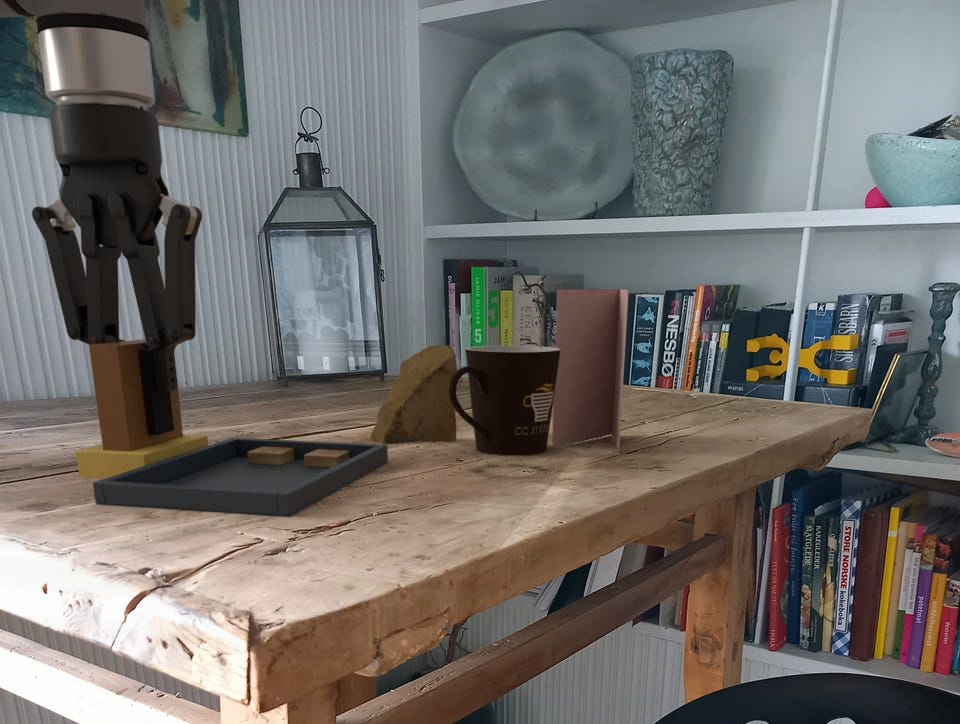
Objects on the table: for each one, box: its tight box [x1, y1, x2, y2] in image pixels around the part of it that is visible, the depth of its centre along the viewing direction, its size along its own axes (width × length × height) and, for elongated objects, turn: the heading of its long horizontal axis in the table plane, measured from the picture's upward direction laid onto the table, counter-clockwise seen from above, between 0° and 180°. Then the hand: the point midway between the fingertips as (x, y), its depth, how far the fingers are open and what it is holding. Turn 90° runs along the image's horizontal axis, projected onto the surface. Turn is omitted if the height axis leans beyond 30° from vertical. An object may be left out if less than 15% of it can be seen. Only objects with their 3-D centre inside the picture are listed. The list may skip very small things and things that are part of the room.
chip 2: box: [304, 449, 350, 468], centre depth 79 cm, size 3×3×1 cm
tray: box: [92, 437, 389, 518], centre depth 73 cm, size 15×21×2 cm
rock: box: [369, 344, 458, 445], centre depth 94 cm, size 11×9×10 cm
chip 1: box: [247, 447, 295, 465], centre depth 80 cm, size 3×3×1 cm
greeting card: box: [551, 288, 630, 454], centre depth 94 cm, size 11×7×15 cm, turn 141°
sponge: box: [75, 338, 209, 479], centre depth 76 cm, size 10×6×11 cm, turn 167°
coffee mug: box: [449, 345, 561, 457], centre depth 86 cm, size 12×9×10 cm
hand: (143, 431), depth 77 cm, fingers closed on sponge, 3 cm apart
